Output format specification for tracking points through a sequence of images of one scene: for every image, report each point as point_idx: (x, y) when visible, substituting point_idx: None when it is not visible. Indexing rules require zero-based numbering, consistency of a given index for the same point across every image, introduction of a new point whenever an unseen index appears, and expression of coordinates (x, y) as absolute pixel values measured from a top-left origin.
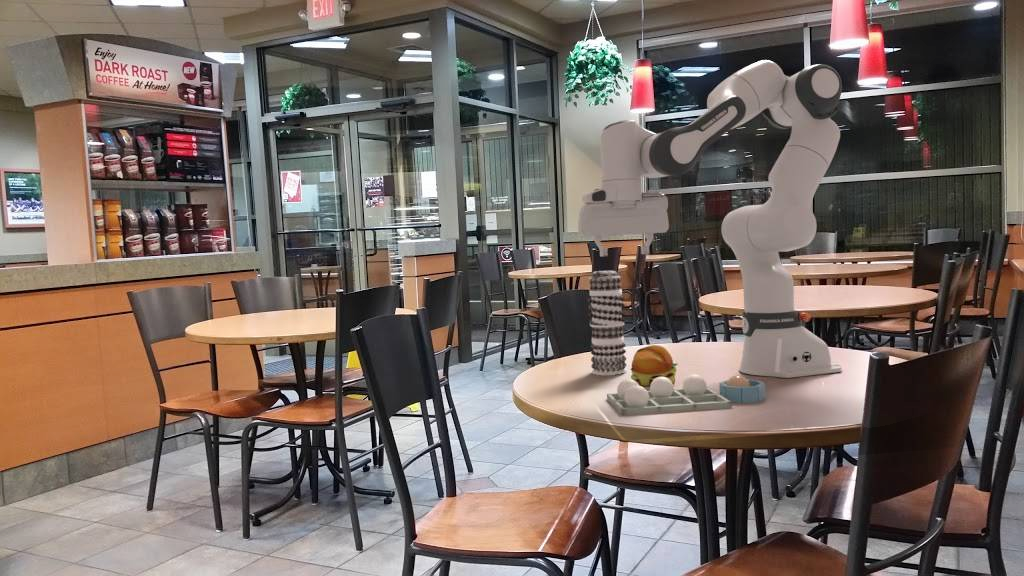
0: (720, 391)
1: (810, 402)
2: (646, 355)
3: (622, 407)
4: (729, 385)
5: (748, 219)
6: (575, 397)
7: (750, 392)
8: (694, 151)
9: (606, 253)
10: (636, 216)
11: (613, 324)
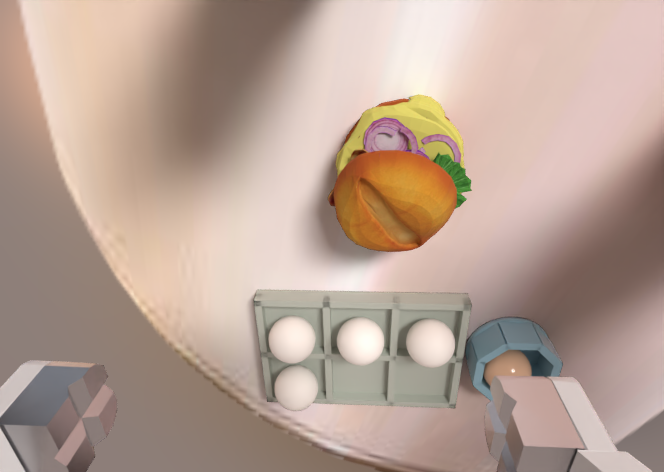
0: (472, 353)
1: (609, 383)
2: (372, 230)
3: (269, 392)
4: (485, 379)
5: None
6: (192, 227)
7: None
8: None
9: (94, 436)
10: None
11: None
